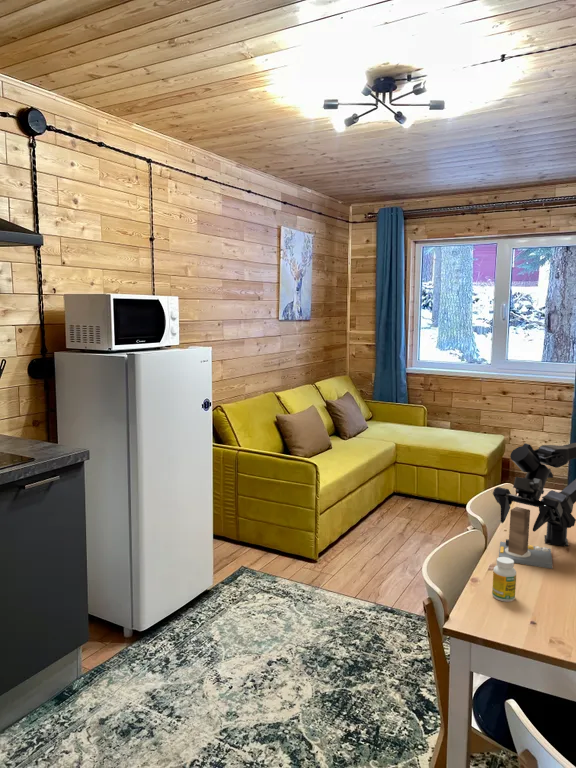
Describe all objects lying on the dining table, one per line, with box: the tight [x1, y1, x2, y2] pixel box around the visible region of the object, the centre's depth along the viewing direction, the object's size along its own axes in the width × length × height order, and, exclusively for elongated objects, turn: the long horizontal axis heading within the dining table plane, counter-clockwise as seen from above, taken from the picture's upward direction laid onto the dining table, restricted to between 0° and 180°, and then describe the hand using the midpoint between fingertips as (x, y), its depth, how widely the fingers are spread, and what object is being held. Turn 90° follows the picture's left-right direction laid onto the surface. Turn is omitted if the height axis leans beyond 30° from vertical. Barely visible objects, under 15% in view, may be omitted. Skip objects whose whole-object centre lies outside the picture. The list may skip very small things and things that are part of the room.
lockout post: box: [508, 506, 531, 555], centre depth 166 cm, size 4×4×12 cm
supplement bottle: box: [491, 556, 517, 603], centre depth 142 cm, size 5×5×10 cm
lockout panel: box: [498, 538, 553, 570], centre depth 167 cm, size 12×14×3 cm
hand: (517, 526), depth 165 cm, fingers open, 9 cm apart
